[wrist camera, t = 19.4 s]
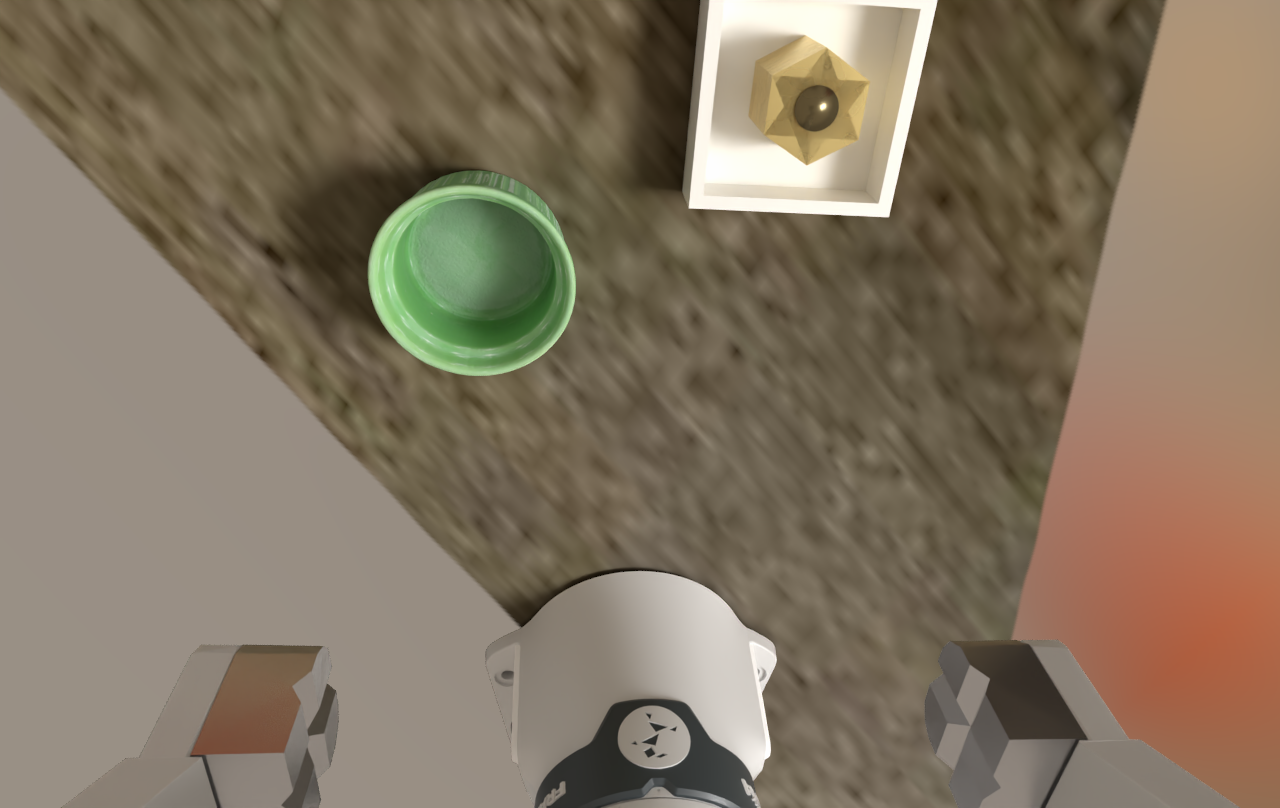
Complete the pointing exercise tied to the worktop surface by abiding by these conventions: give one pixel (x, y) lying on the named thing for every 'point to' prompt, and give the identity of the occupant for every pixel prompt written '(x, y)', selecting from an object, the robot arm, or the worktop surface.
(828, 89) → the tan faceted block
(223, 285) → the worktop surface
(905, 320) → the worktop surface
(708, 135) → the ceramic dish
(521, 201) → the ramekin
